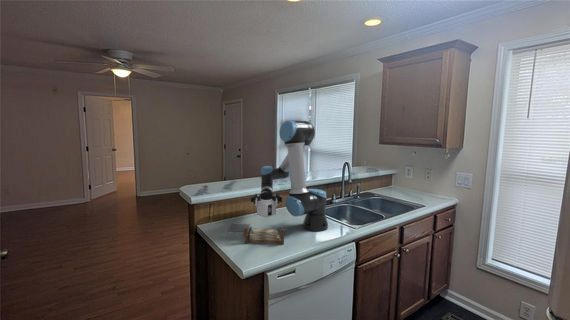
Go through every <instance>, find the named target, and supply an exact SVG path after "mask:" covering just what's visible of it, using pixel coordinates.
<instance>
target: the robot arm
mask: <svg viewBox="0 0 570 320" xmlns="http://www.w3.org/2000/svg"><path fill="white" fill-rule="evenodd" d="M315 130H316V129H315V126H314V125H313V123H311V122H309V121H307V120H297V119H296V120H295V119H292V120H286V121H284V122H283V123H282V124H281V126H280V127H279V133H278V134H279V137H280V140H281V141H282V142H284V146H285V147H286V148H287V154H286V156H285V157H284V159H283V160H282V162H281V164H280V166H279V167H277V168H273V166H272V165H271V166H270V165H265V166H262V167H261V170H260V175H261V182H260V183H261V184H260V185H261V187H260V188H261V189H260V193H259V194H258V193H255V194H254V195H253V196H251V197H250V203H253V204H254V205H255V207H257V201H261V193H262V192H265V191H268V192H271V193H272V201H275V202H276V207H278V204H280V203H282V202H283V197H282V196H281V195H279V193H276V194H273V193H274V190H273V189H274V188H273V186H274V185H273V182H274V180H283V179H286V178H289V179H290V180H289V181H290V191H289V192H288V196H287V198H286V200H285V208H286V210H287V211H288V213H289V214H290V216H293V217H301V216H304V215H305V217H304V220H303V222H302V223H303V224H302V225H303V226H302V228H304V229H306V230H307V231H313V232H323V231H326V230H328V228H329V222H328V219H327V216H326V211H327V191H326V192H325V191H323V190H324V189H323V190H318V189H319V188H308V189H307V186H306V185H307V180H306V171H305V170H306V169H305V160H304V159H305V158H304V151H305V150H306V148H307V147H308V146H310V145H311V144H312V142H313V140H314V139H315V134H316V131H315Z"/></svg>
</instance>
